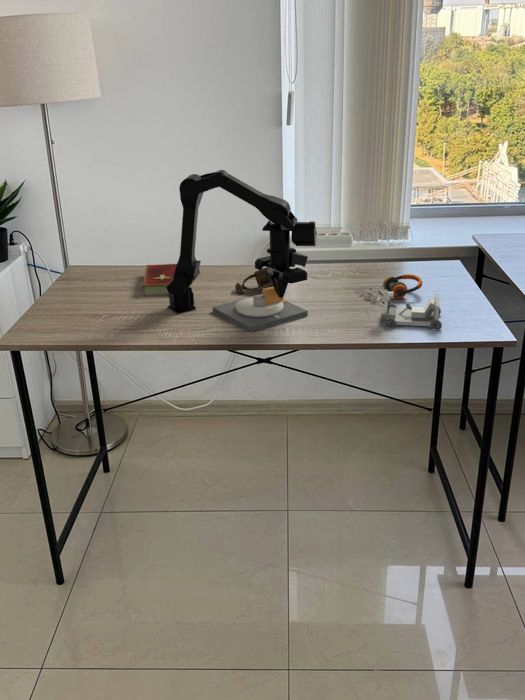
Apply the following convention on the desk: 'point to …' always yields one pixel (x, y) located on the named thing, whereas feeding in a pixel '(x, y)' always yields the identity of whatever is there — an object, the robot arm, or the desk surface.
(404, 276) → the headphones
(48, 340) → the desk surface
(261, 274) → the brown curved looped piece
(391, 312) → the toy car
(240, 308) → the dial
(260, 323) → the dial board
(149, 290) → the hardcover book
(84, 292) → the desk surface
